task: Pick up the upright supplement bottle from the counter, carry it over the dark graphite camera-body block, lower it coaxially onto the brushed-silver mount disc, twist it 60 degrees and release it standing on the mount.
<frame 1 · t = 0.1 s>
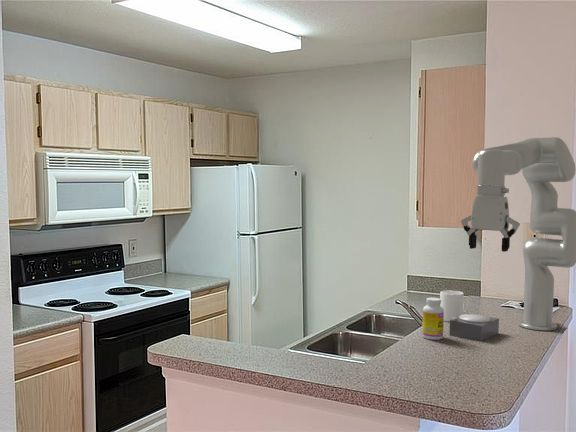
hand: (488, 249, 172), 31 cm above the counter, tool pointing down, fingers open, 9 cm apart
mug: (454, 319, 217), on the counter
supplement bottle: (432, 338, 191), on the counter
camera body: (474, 334, 196), on the counter
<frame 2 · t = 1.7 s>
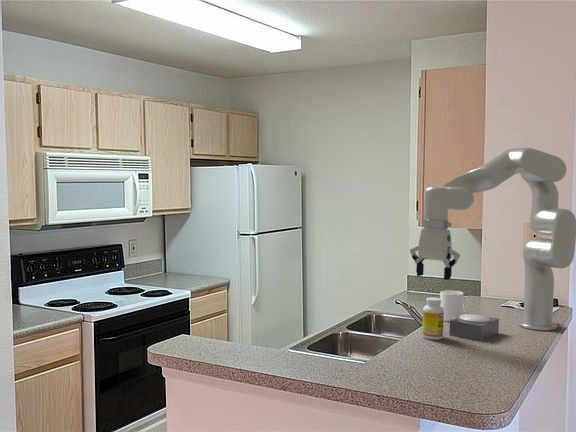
hand: (433, 277, 190), 20 cm above the counter, tool pointing down, fingers open, 9 cm apart
nothing on the counter moved.
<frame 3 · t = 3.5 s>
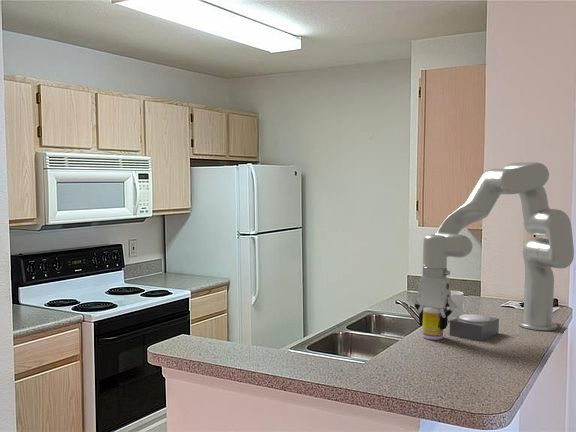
hand: (432, 326, 191), 4 cm above the counter, tool pointing down, fingers closed on supplement bottle, 6 cm apart
supplement bottle: (432, 338, 191), on the counter, touching gripper
everything else where it was.
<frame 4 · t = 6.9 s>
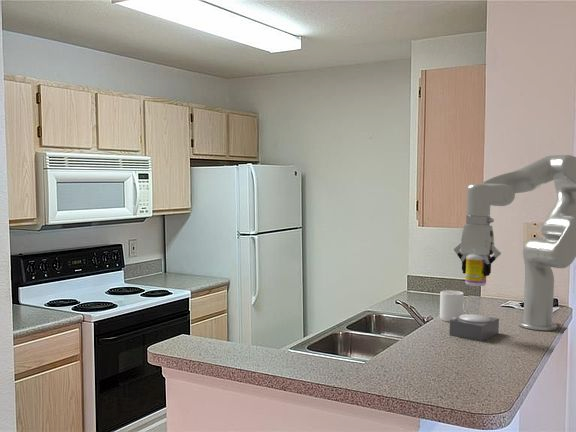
hand: (476, 273, 195), 20 cm above the counter, tool pointing down, fingers closed on supplement bottle, 6 cm apart
supplement bottle: (475, 285, 195), point 17 cm above the counter, touching gripper
everything else where it was.
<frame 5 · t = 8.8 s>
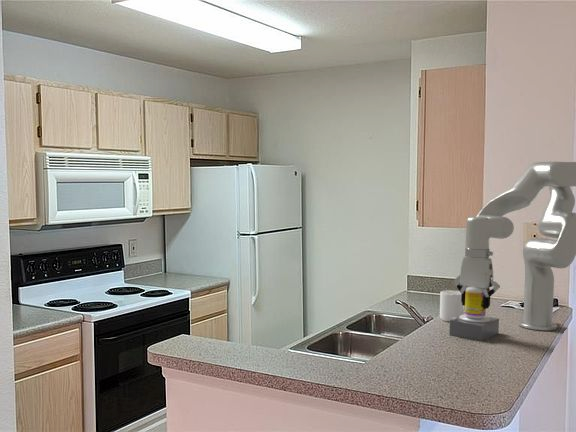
hand: (475, 306, 196), 10 cm above the counter, tool pointing down, fingers closed on supplement bottle, 6 cm apart
supplement bottle: (474, 317, 196), point 6 cm above the counter, touching gripper
everything else where it was.
when the fingers open (9 cm above the counter, at t = 10.3 s): supplement bottle stays where it is, resting on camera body.
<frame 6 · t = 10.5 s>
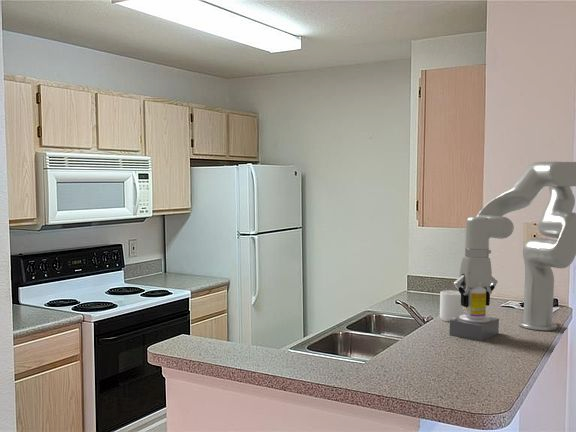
hand: (475, 305, 196), 10 cm above the counter, tool pointing down, fingers open, 7 cm apart
supplement bottle: (475, 318, 196), point 5 cm above the counter, touching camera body
everything else where it was.
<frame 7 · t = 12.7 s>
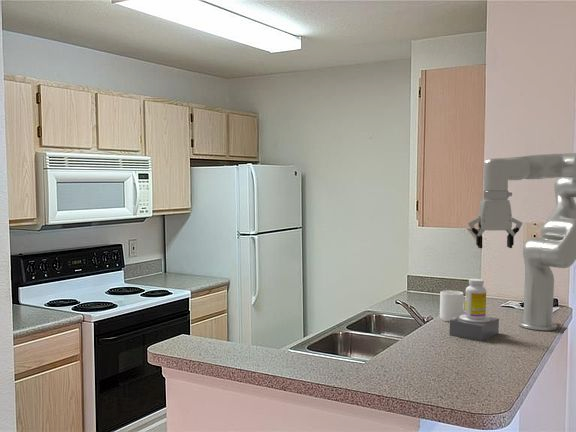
hand: (494, 247, 193), 29 cm above the counter, tool pointing down, fingers open, 9 cm apart
nothing on the counter moved.
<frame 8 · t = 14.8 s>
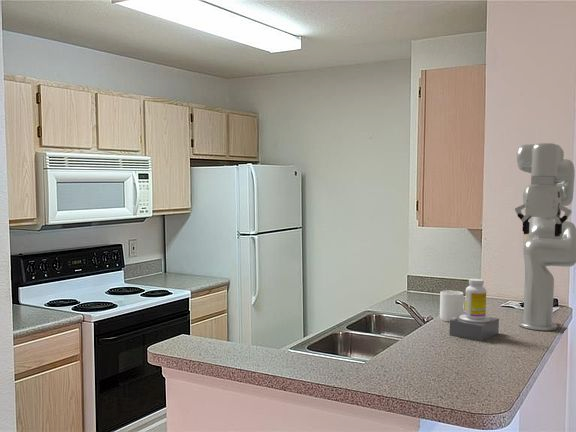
hand: (541, 235, 188), 34 cm above the counter, tool pointing down, fingers open, 9 cm apart
nothing on the counter moved.
at the end: supplement bottle 0.1 cm from the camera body (horizontally); supplement bottle point 5.4 cm above the counter; supplement bottle tilted 0° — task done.
